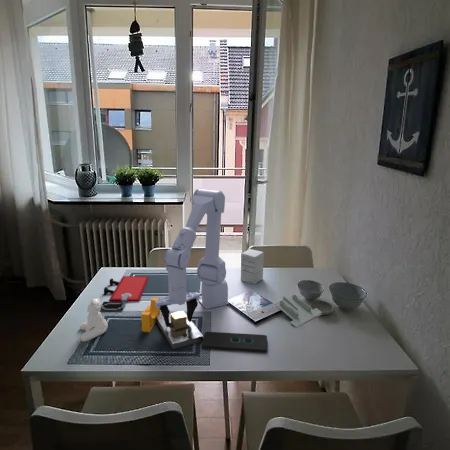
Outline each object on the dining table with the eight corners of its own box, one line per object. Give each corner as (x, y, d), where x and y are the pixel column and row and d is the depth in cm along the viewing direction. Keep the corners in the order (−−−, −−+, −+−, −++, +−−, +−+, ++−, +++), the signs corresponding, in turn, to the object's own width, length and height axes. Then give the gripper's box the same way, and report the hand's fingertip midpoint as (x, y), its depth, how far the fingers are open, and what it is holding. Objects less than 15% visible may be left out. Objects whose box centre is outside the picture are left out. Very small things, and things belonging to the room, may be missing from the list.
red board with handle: (93, 312, 135) (135, 312, 135) (93, 305, 134) (135, 305, 134) (114, 279, 164) (149, 279, 164) (114, 273, 163) (148, 273, 163)
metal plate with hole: (183, 315, 133) (183, 309, 132) (203, 340, 118) (203, 335, 117) (155, 321, 129) (155, 316, 128) (173, 349, 113) (173, 343, 113)
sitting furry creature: (79, 328, 124) (76, 295, 121) (106, 322, 127) (104, 290, 124) (81, 343, 116) (77, 308, 113) (110, 337, 119) (107, 303, 116)
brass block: (182, 326, 126) (182, 310, 124) (186, 332, 122) (186, 316, 120) (171, 329, 124) (170, 313, 122) (175, 335, 120) (174, 319, 119)
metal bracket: (270, 300, 133) (296, 288, 143) (266, 312, 136) (292, 300, 145) (300, 325, 124) (326, 311, 134) (295, 338, 127) (321, 323, 136)
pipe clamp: (148, 313, 134) (147, 297, 132) (160, 314, 134) (159, 298, 132) (137, 331, 123) (135, 314, 121) (149, 332, 122) (148, 314, 120)
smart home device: (267, 349, 111) (201, 345, 113) (267, 354, 112) (201, 350, 114) (267, 334, 119) (205, 330, 121) (266, 339, 120) (205, 335, 122)
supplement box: (249, 274, 168) (249, 248, 165) (263, 278, 164) (264, 251, 161) (240, 280, 163) (240, 253, 159) (254, 284, 158) (255, 256, 155)
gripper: (159, 294, 112) (160, 334, 116) (203, 285, 118) (203, 323, 122) (152, 285, 118) (154, 323, 122) (194, 277, 124) (195, 313, 128)
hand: (178, 322), depth 122 cm, fingers open, 7 cm apart
